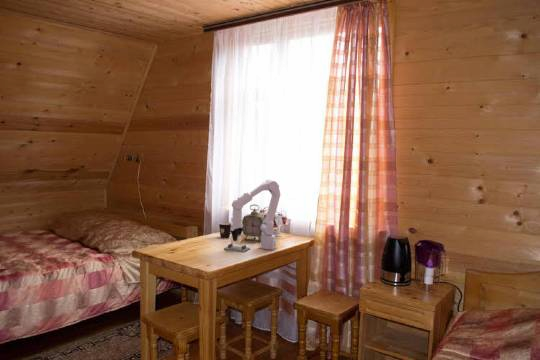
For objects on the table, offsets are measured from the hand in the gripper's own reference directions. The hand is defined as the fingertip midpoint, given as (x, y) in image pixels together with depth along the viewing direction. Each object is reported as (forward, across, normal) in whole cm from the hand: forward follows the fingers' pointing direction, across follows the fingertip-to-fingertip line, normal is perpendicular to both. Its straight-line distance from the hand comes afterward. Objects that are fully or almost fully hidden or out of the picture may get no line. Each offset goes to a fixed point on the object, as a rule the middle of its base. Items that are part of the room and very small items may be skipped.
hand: (236, 240), depth 286 cm
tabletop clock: (+6, -30, 0) cm, 31 cm away
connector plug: (+2, 0, 0) cm, 2 cm away
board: (+6, 0, 0) cm, 6 cm away
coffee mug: (+6, -27, -20) cm, 34 cm away
